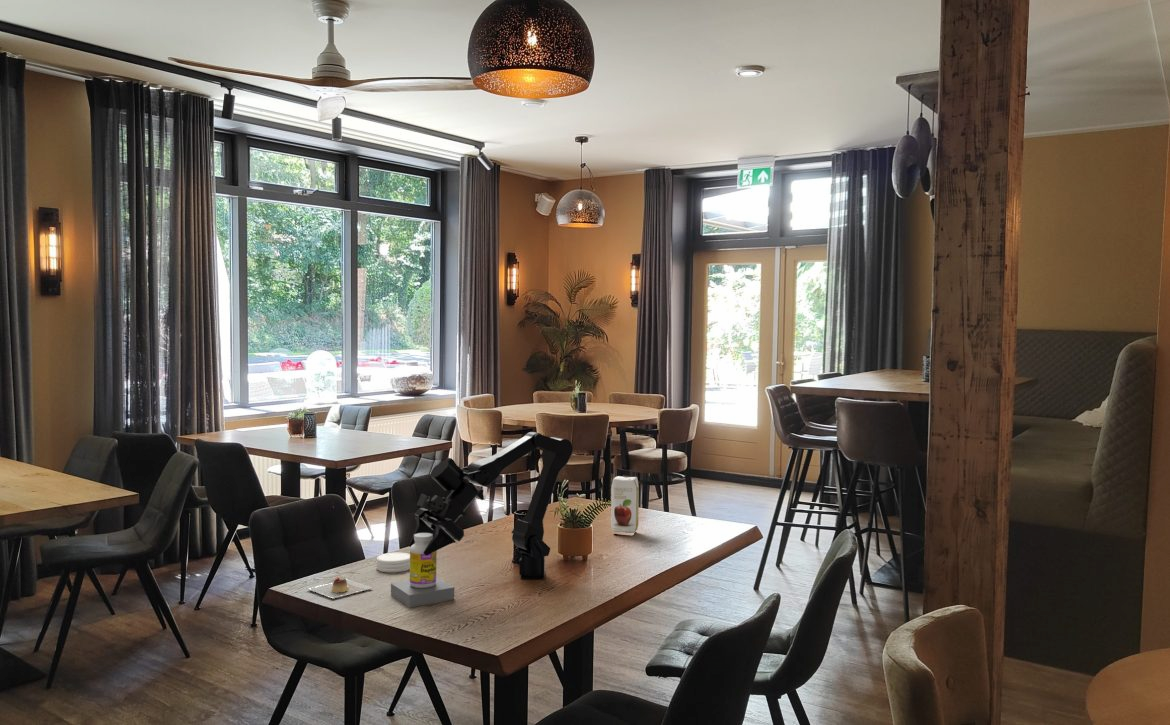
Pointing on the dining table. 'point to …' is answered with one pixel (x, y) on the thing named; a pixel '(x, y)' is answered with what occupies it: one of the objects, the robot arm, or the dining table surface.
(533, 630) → the dining table surface
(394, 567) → the coaster
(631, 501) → the juice carton
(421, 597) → the block
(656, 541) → the dining table surface
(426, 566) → the supplement bottle
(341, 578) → the dessert
